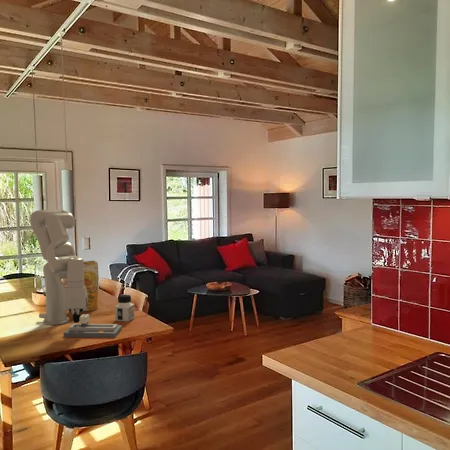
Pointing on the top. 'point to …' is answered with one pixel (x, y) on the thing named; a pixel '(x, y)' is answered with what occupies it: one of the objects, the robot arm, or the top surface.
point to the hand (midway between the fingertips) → (76, 322)
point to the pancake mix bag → (91, 284)
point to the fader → (84, 320)
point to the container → (124, 308)
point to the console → (93, 330)
